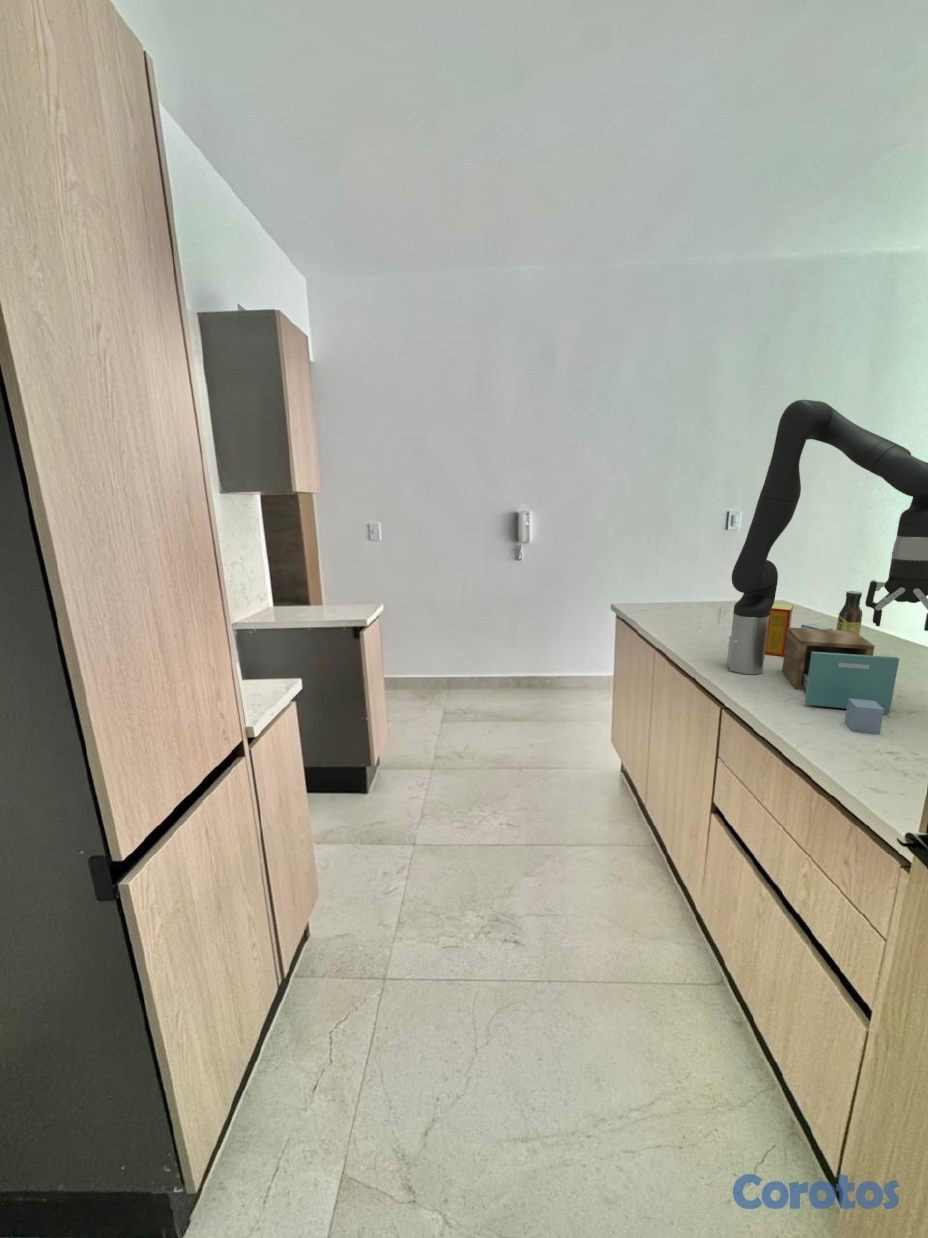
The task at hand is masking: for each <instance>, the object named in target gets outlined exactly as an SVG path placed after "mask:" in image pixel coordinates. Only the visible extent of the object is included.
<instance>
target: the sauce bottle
mask: <svg viewBox="0 0 928 1238" xmlns="http://www.w3.org/2000/svg"><path fill="white" fill-rule="evenodd" d="M862 595H863V593H862V591H858V590H849V591H846V593H845V596H846V597H845V603H844V605H843V607H842V609H841V610H840V612H839V613H838V617H837V623H836V629H835V630H846V631H854V632H856V633H857V634H858V635H861V634H860V632H861V627H862V621H863V620H862V619H863V611H862V609H861V607H860V605H861V604H860V603H861V598H862Z"/></svg>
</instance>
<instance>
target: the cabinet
mask: <svg viewBox="0 0 928 1238" xmlns="http://www.w3.org/2000/svg"><path fill="white" fill-rule="evenodd" d="M874 650H875V645H874V644H873V643H871V642H870V641H869V640H867V639H866V638H864V637H863V636H862V635H861V634H859V635H858V634H857V633H856V632H854V631H846V630H836V629H833V630H827V629H808V628H801V627H790V628H789V627H788V628H787V636H786V643H785V651H784V657H783V660H782V668H781V672H782V674H783V675H784V676H785V677H786V679H787V680H788V682H789V683H790V684H791V687H793V689H794V690H801V691H806V688H805V687H804V686H803V684H802V677H803V674H809V666H810V659H811V652H824V653H840V654H855V655H870V656H874Z"/></svg>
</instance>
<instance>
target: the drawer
mask: <svg viewBox="0 0 928 1238" xmlns="http://www.w3.org/2000/svg"><path fill="white" fill-rule="evenodd" d="M899 663H900V657H896V656H886V655H885V656H883V655H882V656H881V655H873V656H870V655H855V654H840V653H824V652H811V659H810V666H809V674H803V677H802V684H803V686H804V687H805V688H806V690H805V696H804V697H805V698H804V704H805V705H808V706H816V707H817V706H818V707H828V708H836V709H837V708H839V709H847V704H848V698H851V699H861V700H872V701H876V702H877V703H878V704H879V705H880V706H881V707H882V708H883V709H884V713H890V712H891V706H892V701H893V695H894V690H895V684H896V681H897V680H896V678H897V674H898V668H899Z"/></svg>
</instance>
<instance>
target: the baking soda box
mask: <svg viewBox="0 0 928 1238" xmlns="http://www.w3.org/2000/svg"><path fill="white" fill-rule="evenodd" d="M793 608H794V604H790V603H789V604H787V603H777V602H774V604H773V606H772V608H771V610H770V614H769V621H768V630H767V639H766V647H765V656H771V657H772V656H773V657H780V658H784V651H785V643H786V636H787V628H788V627H789V628H791V626H792V625H791V624H792V617H793Z"/></svg>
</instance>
